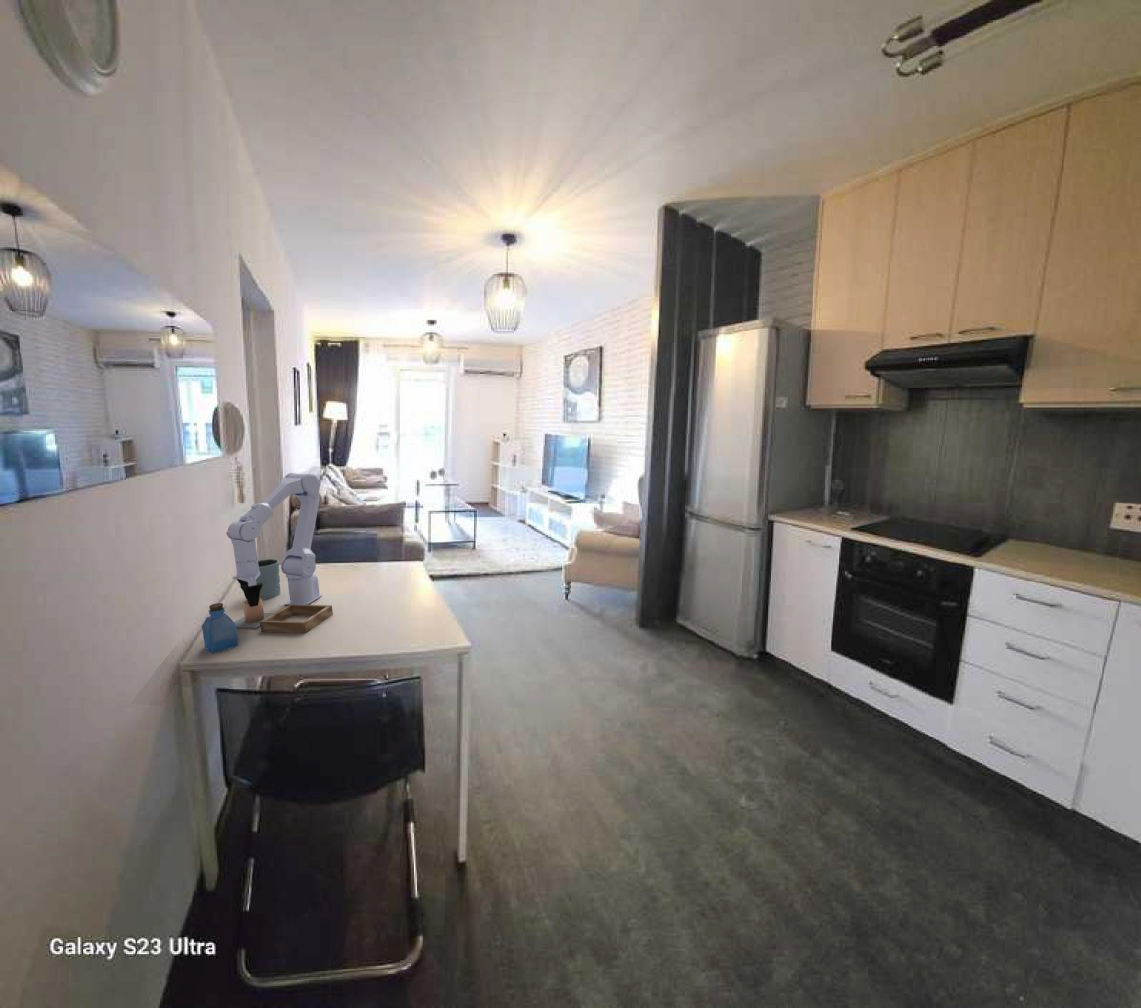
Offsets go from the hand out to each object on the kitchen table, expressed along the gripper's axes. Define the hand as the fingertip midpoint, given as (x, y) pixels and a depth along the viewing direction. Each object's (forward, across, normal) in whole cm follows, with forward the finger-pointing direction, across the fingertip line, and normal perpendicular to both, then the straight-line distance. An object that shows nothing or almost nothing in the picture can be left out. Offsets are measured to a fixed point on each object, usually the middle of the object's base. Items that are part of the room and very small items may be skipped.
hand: (252, 602), depth 153 cm
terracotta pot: (+6, 0, 0) cm, 6 cm away
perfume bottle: (+6, +15, -10) cm, 19 cm away
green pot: (+6, -24, +7) cm, 26 cm away
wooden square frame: (+6, +10, +10) cm, 16 cm away
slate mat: (+6, 0, 0) cm, 6 cm away
